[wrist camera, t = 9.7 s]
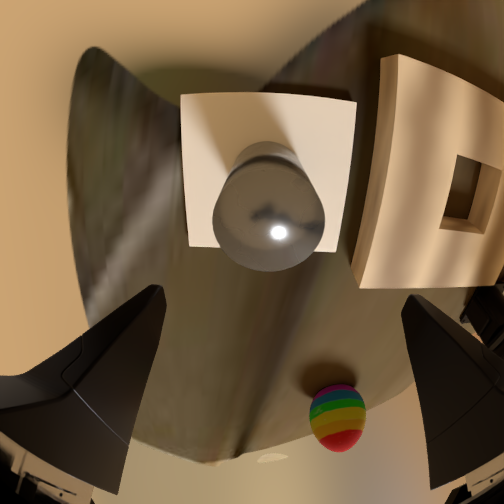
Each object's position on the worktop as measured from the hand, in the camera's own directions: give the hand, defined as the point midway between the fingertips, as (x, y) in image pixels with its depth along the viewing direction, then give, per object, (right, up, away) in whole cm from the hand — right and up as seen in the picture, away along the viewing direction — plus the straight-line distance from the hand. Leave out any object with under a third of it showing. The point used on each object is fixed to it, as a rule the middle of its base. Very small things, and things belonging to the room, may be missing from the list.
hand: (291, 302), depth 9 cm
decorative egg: (+11, -19, +27) cm, 35 cm away
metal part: (0, +7, +10) cm, 12 cm away
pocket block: (+17, +8, +9) cm, 21 cm away
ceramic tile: (0, +7, +10) cm, 13 cm away
